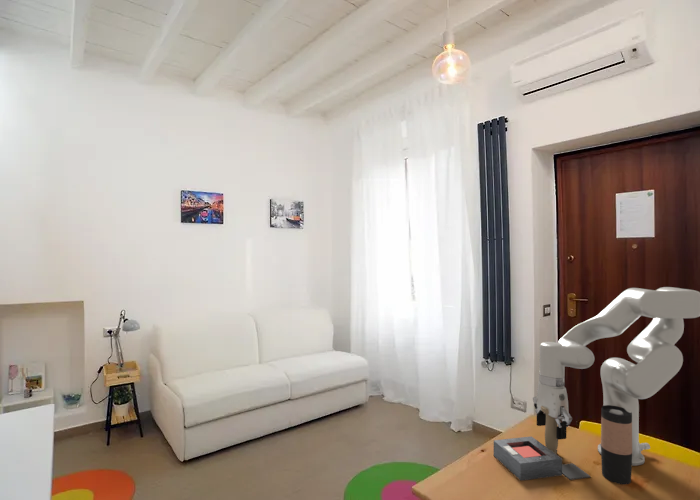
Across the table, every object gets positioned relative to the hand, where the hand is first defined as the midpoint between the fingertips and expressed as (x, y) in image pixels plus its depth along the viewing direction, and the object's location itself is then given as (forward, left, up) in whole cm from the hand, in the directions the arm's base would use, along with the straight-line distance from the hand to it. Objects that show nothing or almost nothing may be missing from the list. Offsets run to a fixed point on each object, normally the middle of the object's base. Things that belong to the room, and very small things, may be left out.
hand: (550, 431), depth 128 cm
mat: (+2, +11, -7) cm, 13 cm away
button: (+13, +5, -4) cm, 14 cm away
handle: (0, 0, -7) cm, 7 cm away
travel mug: (-9, +16, -7) cm, 20 cm away
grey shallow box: (+13, +5, -7) cm, 15 cm away
